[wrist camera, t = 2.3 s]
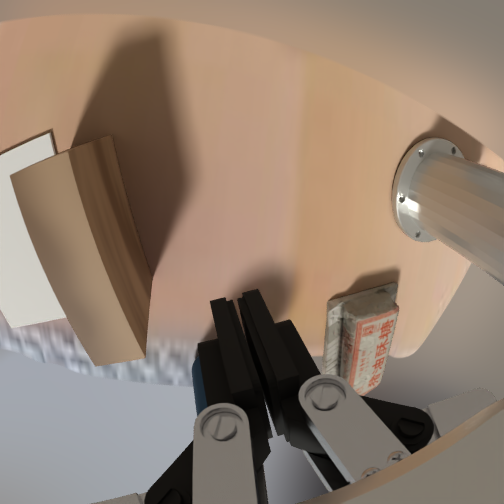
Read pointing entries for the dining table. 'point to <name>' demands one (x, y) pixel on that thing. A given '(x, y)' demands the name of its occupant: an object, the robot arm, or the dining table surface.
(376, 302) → the packaged product
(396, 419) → the robot arm
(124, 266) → the wooden block
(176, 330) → the dining table surface
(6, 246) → the mat
